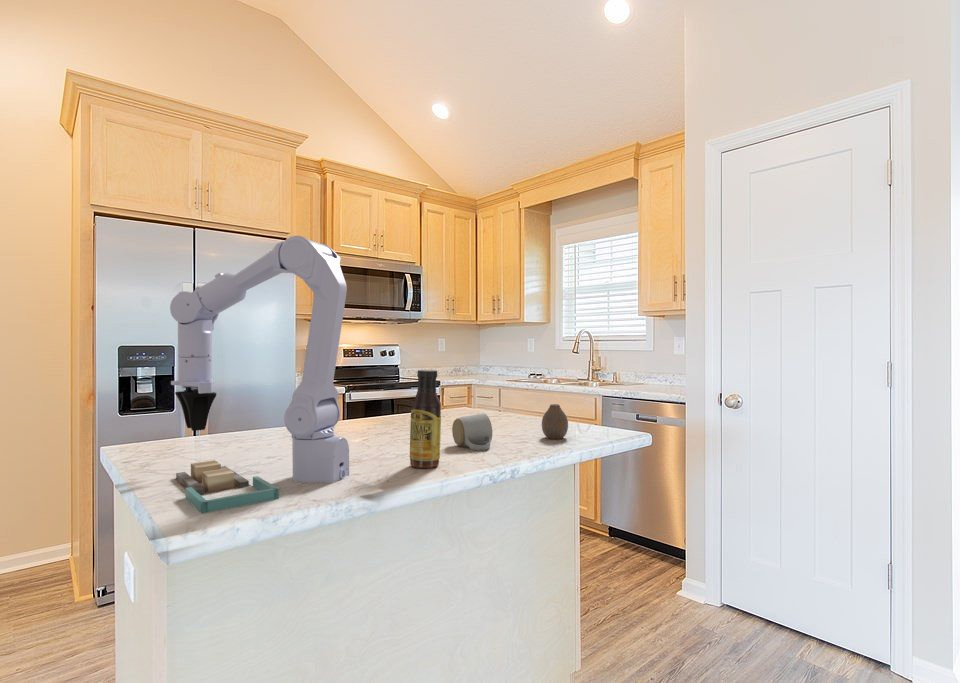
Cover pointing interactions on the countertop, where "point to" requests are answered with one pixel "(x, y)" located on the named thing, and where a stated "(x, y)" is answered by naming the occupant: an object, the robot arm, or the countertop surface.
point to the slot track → (197, 486)
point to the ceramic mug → (473, 432)
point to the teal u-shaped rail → (234, 497)
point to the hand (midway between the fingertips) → (195, 428)
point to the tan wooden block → (218, 479)
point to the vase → (554, 422)
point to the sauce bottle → (425, 423)
